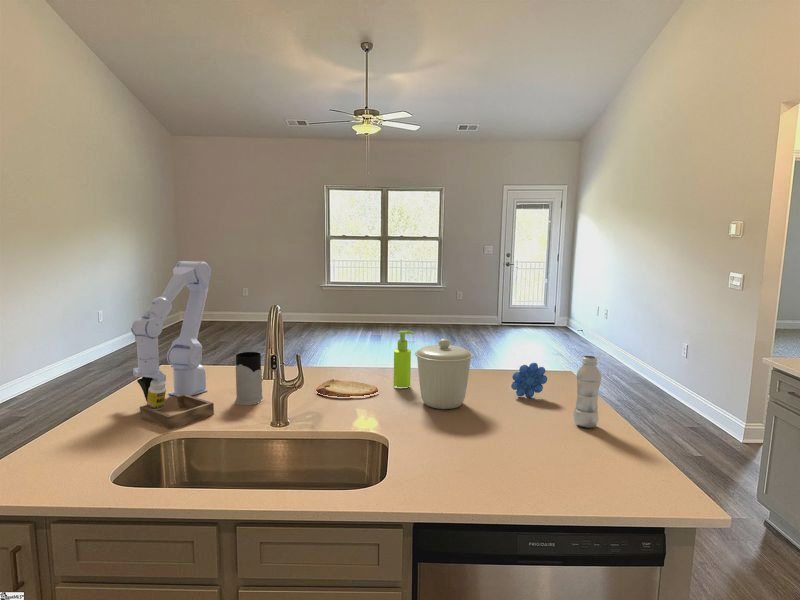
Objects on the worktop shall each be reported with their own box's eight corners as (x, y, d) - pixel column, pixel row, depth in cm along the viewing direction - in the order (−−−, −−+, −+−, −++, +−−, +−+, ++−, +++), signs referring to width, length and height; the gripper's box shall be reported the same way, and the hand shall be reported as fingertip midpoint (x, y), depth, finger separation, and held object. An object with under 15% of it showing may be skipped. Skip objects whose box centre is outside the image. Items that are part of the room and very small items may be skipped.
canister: (443, 418, 144) (445, 348, 141) (402, 402, 157) (403, 337, 154) (483, 405, 156) (485, 340, 153) (441, 391, 169) (443, 331, 166)
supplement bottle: (156, 412, 146) (159, 387, 144) (142, 407, 147) (145, 382, 144) (167, 405, 151) (170, 381, 148) (153, 400, 151) (156, 376, 149)
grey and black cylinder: (229, 402, 155) (227, 356, 153) (257, 390, 168) (256, 347, 166) (252, 406, 152) (251, 359, 150) (279, 393, 165) (278, 349, 163)
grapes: (543, 394, 167) (545, 359, 166) (547, 400, 161) (549, 365, 159) (509, 392, 169) (510, 358, 167) (511, 399, 162) (513, 363, 160)
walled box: (185, 405, 152) (184, 394, 152) (213, 414, 145) (213, 402, 144) (140, 418, 141) (140, 406, 140) (169, 429, 133) (168, 417, 133)
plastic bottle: (579, 419, 144) (583, 353, 142) (602, 426, 139) (606, 357, 137) (568, 425, 140) (572, 356, 137) (592, 432, 135) (596, 361, 132)
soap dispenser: (413, 389, 171) (414, 332, 168) (393, 389, 171) (394, 332, 168) (413, 384, 177) (413, 329, 174) (393, 384, 177) (394, 329, 174)
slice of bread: (383, 395, 166) (383, 384, 165) (338, 406, 154) (338, 394, 154) (354, 382, 179) (354, 372, 179) (310, 391, 168) (309, 381, 168)
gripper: (122, 356, 149) (124, 399, 150) (148, 363, 141) (151, 409, 143) (144, 352, 155) (147, 393, 156) (171, 358, 147) (173, 402, 148)
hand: (150, 400), depth 150 cm, fingers closed, pressing on supplement bottle
